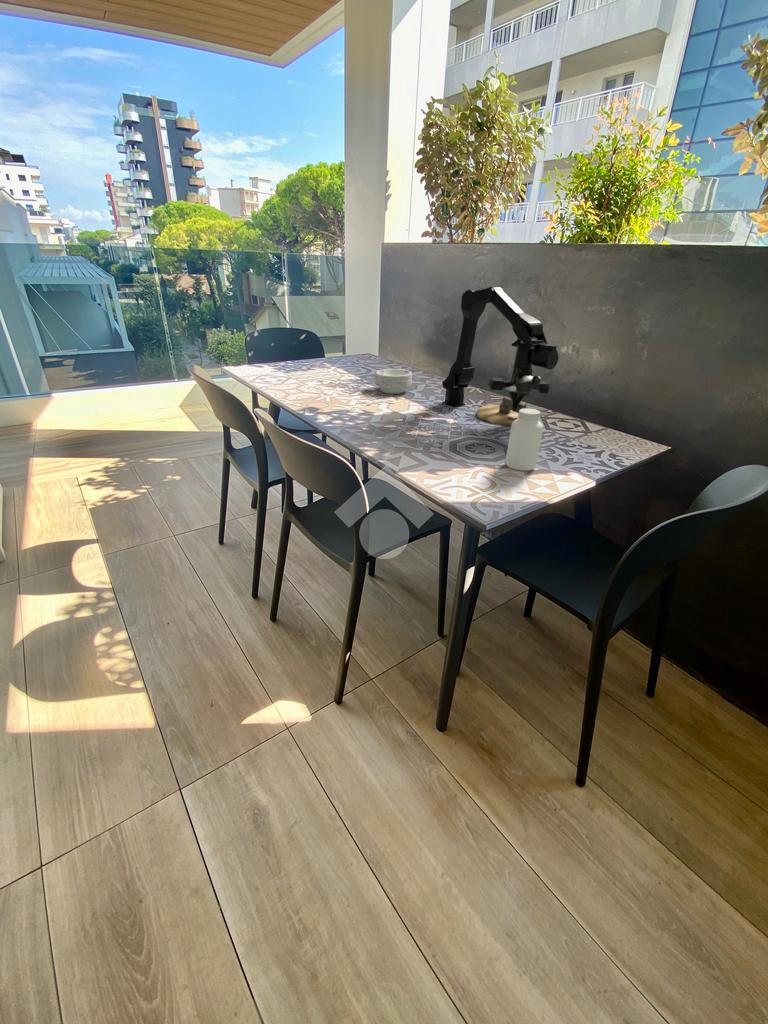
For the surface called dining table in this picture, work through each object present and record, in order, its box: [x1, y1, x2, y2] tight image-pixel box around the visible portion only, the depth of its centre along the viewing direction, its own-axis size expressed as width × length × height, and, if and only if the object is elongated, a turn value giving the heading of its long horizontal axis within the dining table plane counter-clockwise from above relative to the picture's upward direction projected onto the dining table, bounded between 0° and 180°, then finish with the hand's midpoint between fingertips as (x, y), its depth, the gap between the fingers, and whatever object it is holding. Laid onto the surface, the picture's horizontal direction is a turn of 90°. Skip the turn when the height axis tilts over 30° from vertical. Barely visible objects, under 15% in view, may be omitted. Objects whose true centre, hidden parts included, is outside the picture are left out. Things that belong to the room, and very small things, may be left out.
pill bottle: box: [505, 407, 544, 472], centre depth 117 cm, size 8×8×15 cm
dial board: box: [476, 404, 518, 426], centre depth 159 cm, size 19×19×2 cm
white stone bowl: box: [374, 368, 413, 395], centre depth 185 cm, size 15×15×8 cm
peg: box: [499, 396, 528, 413], centre depth 153 cm, size 15×4×5 cm, turn 22°
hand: (513, 411), depth 150 cm, fingers closed
